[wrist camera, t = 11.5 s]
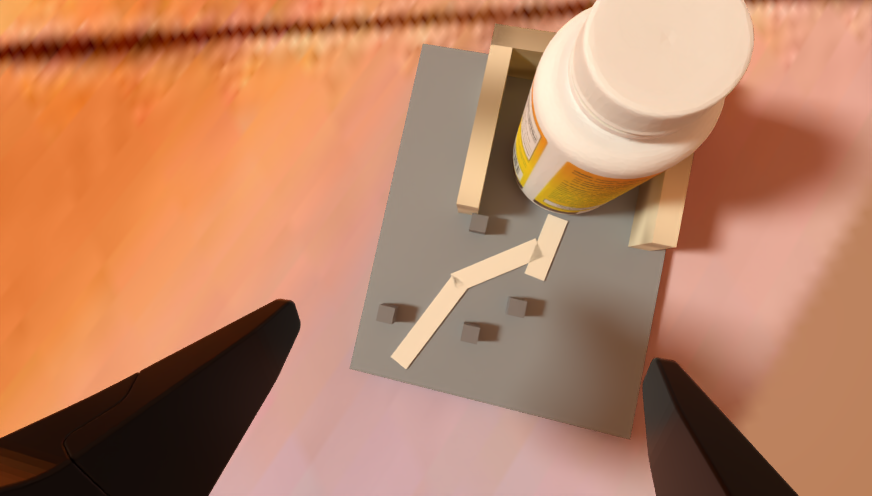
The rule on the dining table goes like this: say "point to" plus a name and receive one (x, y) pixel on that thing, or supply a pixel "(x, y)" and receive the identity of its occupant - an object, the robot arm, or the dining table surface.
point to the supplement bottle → (627, 97)
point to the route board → (502, 273)
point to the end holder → (507, 57)
